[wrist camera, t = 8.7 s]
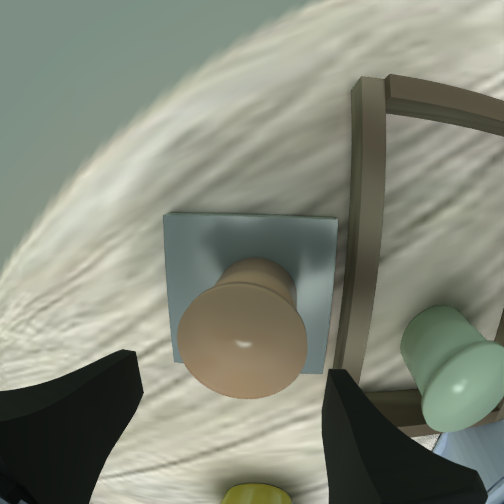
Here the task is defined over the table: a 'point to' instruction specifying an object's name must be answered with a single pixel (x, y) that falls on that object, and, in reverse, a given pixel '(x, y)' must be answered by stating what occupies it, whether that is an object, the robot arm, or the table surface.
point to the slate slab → (247, 246)
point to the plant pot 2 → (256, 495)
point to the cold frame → (371, 217)
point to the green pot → (452, 368)
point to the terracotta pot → (245, 332)
